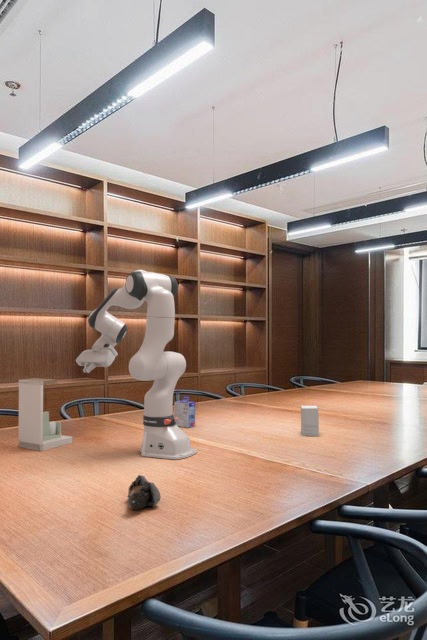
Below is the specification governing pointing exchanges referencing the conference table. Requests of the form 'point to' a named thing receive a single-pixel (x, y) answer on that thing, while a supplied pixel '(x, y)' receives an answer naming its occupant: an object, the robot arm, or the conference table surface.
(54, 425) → the glass caddy
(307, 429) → the supplement box
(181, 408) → the ink cartridge box
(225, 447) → the conference table surface
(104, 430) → the conference table surface
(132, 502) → the bison figurine
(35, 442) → the white c-shaped upright piece
